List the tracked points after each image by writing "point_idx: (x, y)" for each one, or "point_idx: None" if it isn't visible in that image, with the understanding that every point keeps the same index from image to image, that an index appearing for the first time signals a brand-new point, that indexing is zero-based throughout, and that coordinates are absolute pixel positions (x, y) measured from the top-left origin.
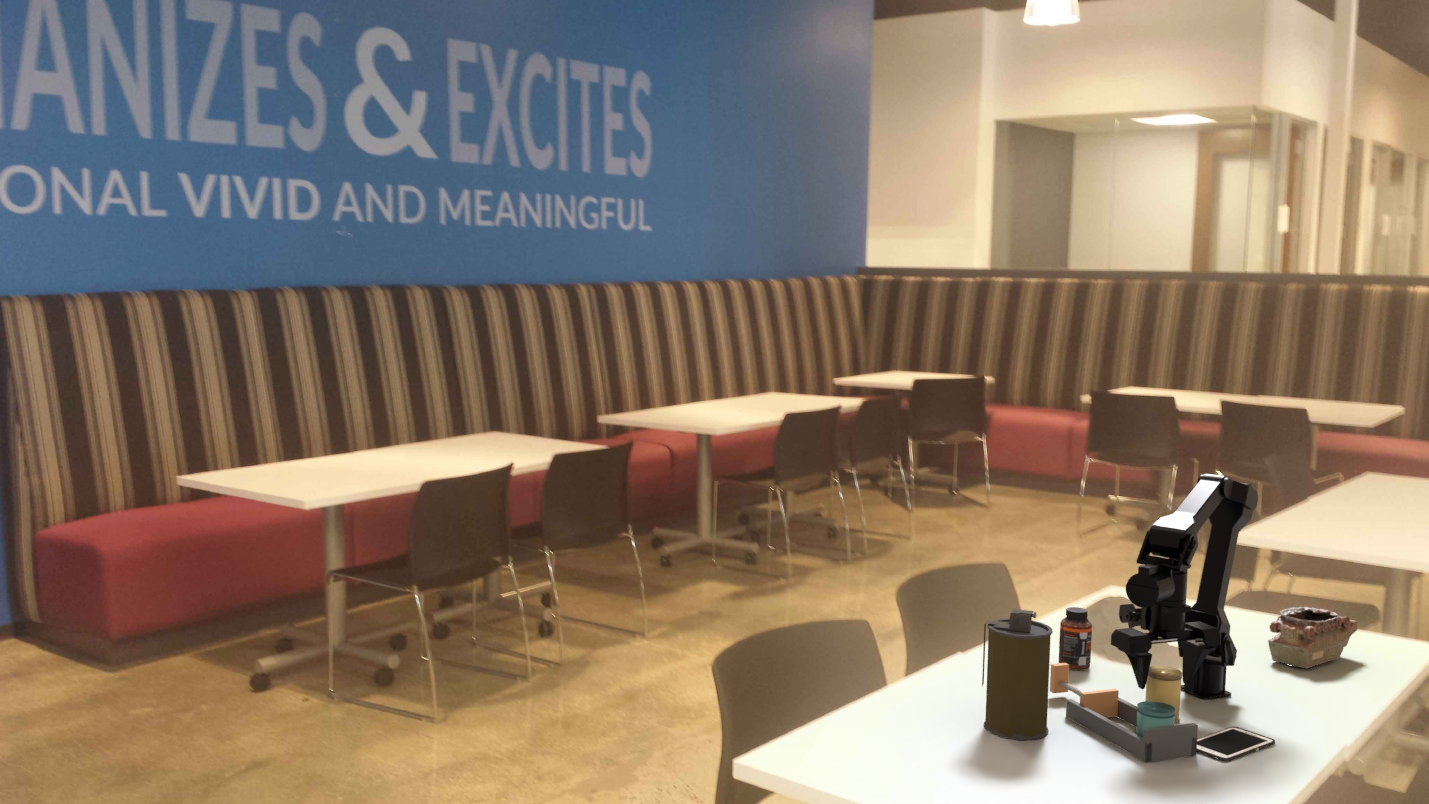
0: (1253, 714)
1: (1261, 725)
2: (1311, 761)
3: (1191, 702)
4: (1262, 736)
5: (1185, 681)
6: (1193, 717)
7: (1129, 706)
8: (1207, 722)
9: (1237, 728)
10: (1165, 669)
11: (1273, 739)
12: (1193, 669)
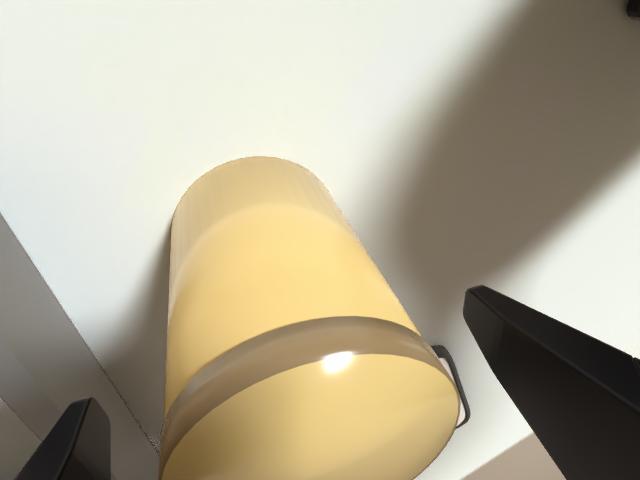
0: (621, 217)
1: (548, 306)
2: (450, 474)
3: (537, 47)
4: (461, 402)
5: (471, 316)
6: (392, 246)
7: (2, 393)
8: (406, 292)
9: (443, 363)
10: (360, 427)
11: (467, 420)
12: (542, 438)
